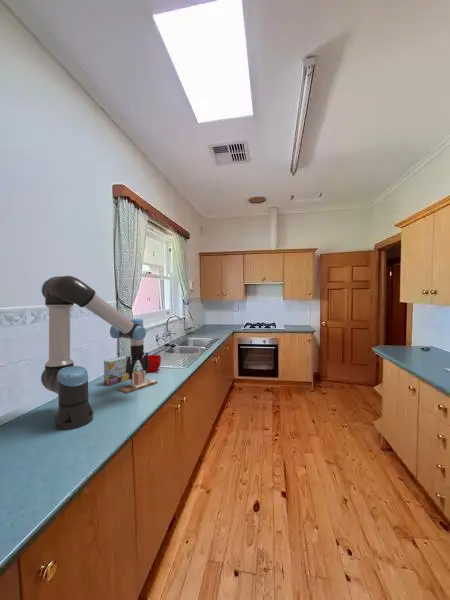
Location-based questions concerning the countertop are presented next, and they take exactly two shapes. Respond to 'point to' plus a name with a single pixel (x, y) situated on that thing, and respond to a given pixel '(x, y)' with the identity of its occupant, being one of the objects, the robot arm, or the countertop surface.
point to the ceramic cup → (153, 362)
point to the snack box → (116, 370)
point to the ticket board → (130, 388)
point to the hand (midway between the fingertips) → (138, 382)
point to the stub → (138, 379)
